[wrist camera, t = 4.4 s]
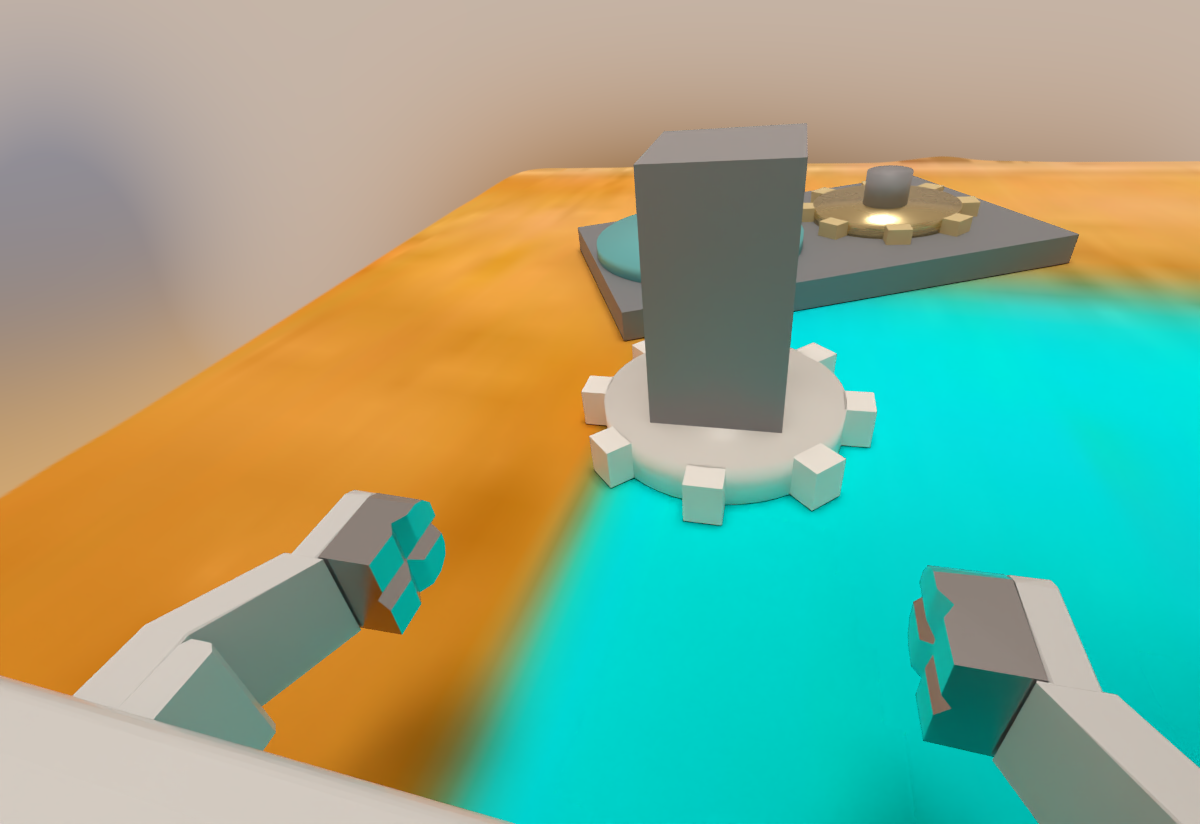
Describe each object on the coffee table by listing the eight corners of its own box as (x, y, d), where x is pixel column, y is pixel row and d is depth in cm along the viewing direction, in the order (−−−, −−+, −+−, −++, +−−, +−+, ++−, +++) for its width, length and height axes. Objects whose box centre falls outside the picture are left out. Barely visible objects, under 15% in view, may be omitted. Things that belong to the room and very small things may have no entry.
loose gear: (857, 363, 25) (902, 100, 20) (883, 545, 17) (972, 186, 11) (620, 352, 28) (600, 120, 22) (546, 503, 20) (484, 200, 14)
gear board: (907, 197, 43) (919, 135, 40) (1069, 262, 31) (1098, 181, 29) (580, 249, 40) (572, 187, 38) (624, 340, 29) (617, 259, 27)
